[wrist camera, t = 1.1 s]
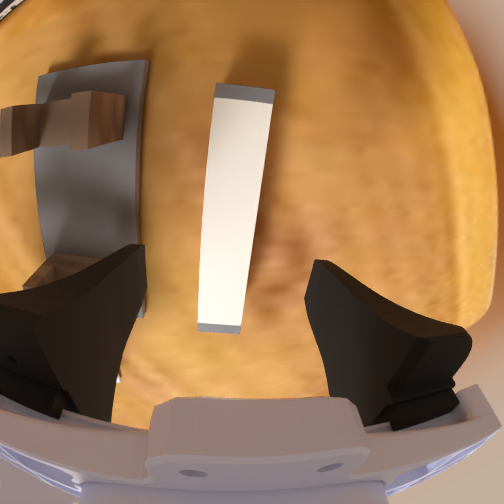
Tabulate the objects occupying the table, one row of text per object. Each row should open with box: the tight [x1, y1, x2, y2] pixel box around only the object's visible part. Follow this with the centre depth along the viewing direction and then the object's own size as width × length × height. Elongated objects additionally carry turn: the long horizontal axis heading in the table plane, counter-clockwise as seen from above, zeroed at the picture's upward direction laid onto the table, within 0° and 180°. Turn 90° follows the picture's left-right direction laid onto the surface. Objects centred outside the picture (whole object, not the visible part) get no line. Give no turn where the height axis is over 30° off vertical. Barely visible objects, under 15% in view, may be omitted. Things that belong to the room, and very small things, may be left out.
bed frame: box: [0, 59, 149, 318], centre depth 15 cm, size 20×9×6 cm, turn 172°
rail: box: [198, 83, 275, 334], centre depth 18 cm, size 16×3×4 cm, turn 172°
